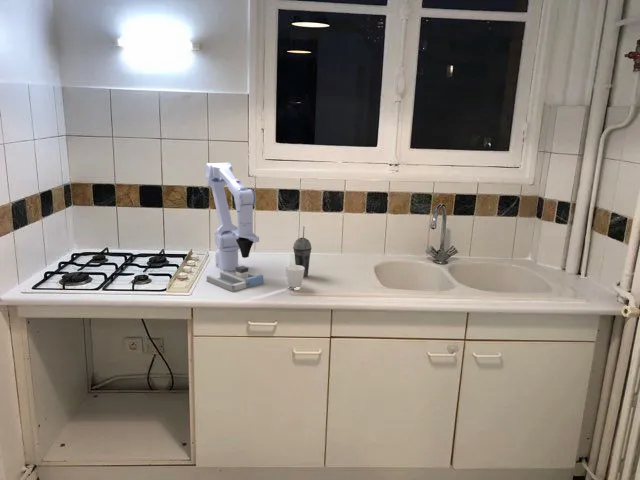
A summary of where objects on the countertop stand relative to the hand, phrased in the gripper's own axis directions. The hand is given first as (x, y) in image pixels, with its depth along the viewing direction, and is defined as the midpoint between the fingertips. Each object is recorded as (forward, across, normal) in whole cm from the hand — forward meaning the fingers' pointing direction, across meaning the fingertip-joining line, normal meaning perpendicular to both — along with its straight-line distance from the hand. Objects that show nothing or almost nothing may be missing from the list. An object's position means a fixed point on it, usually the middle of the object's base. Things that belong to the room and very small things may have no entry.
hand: (245, 257), depth 202 cm
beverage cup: (+10, +10, +20) cm, 24 cm away
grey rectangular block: (+8, +1, -3) cm, 9 cm away
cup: (+10, +18, +9) cm, 22 cm away
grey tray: (+9, +1, -6) cm, 11 cm away
